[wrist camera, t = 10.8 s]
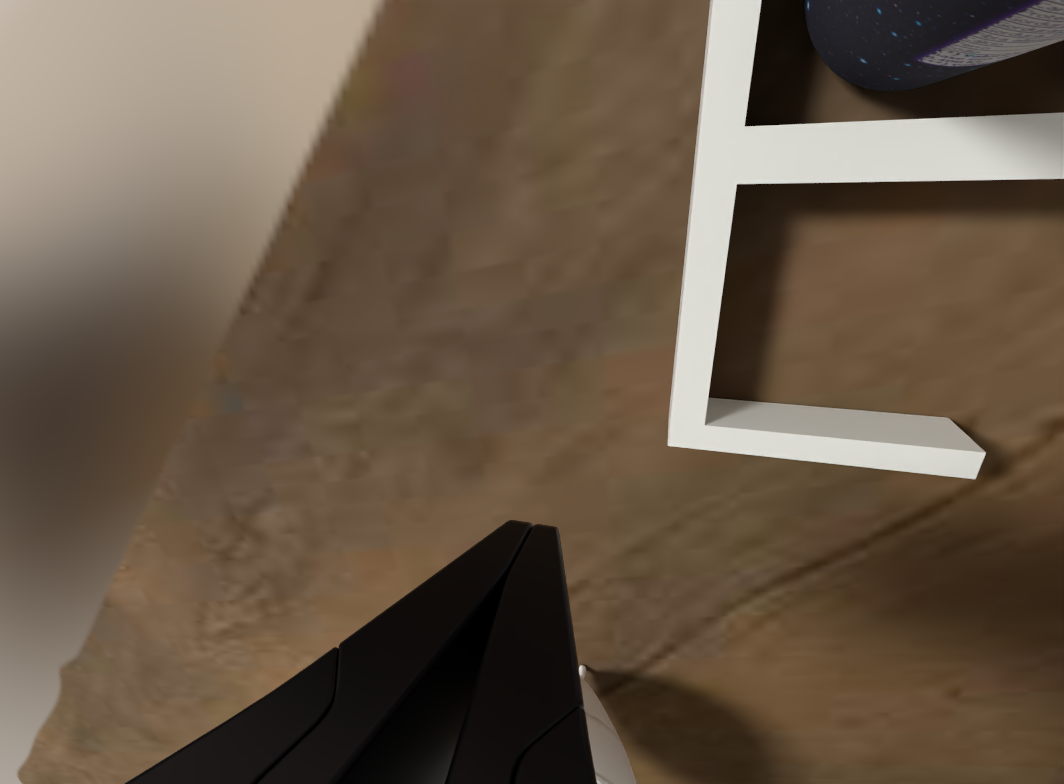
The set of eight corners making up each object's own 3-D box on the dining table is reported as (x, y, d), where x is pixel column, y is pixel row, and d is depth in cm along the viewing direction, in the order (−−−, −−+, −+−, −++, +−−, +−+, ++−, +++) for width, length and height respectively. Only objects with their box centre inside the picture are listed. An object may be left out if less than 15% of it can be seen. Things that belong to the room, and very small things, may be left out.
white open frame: (1280, -381, 10) (1445, -530, 8) (965, 444, 18) (1005, 482, 16) (736, -259, 13) (748, -348, 11) (668, 416, 21) (667, 446, 18)
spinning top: (664, 716, 28) (656, 1048, 17) (539, 709, 31) (466, 993, 20) (635, 614, 26) (605, 928, 15) (502, 615, 28) (396, 883, 18)
